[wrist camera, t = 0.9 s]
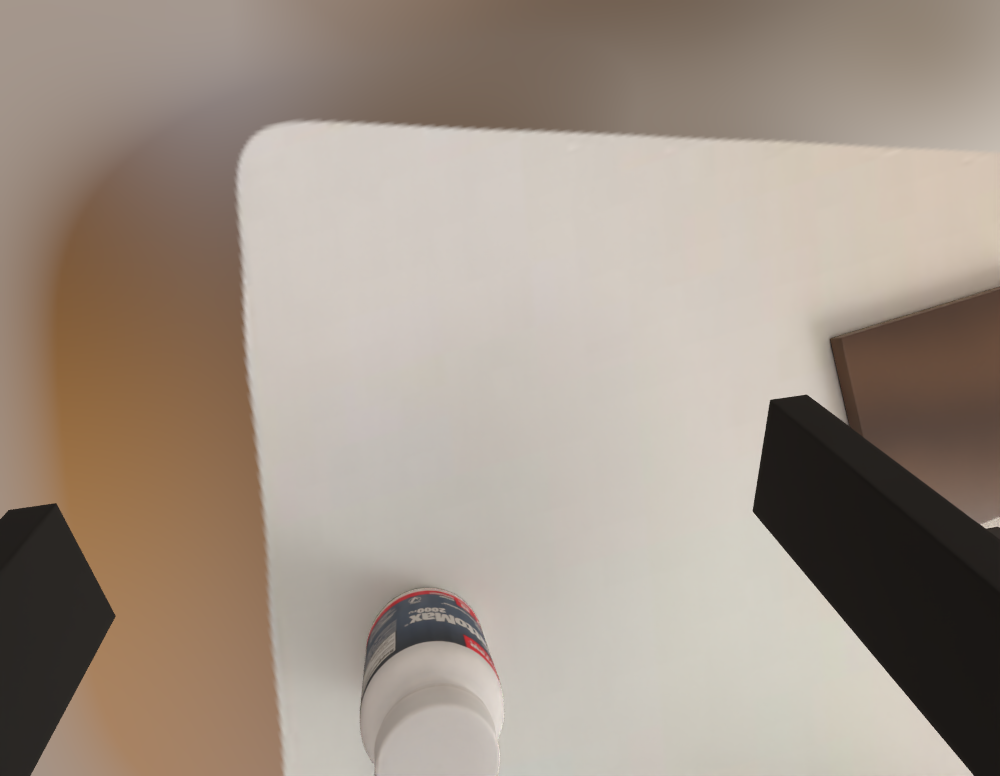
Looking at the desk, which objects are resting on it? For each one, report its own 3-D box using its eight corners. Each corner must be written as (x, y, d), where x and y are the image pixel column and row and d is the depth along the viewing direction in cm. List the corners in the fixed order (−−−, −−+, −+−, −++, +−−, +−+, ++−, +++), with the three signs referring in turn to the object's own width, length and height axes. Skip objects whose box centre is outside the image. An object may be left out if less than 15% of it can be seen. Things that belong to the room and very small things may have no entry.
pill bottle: (500, 613, 28) (551, 724, 19) (447, 714, 28) (474, 873, 19) (401, 565, 27) (407, 659, 18) (344, 669, 27) (323, 815, 18)
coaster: (829, 338, 31) (841, 337, 30) (1014, 282, 33) (1029, 280, 32) (878, 554, 32) (890, 559, 31) (1054, 487, 34) (1070, 490, 33)
